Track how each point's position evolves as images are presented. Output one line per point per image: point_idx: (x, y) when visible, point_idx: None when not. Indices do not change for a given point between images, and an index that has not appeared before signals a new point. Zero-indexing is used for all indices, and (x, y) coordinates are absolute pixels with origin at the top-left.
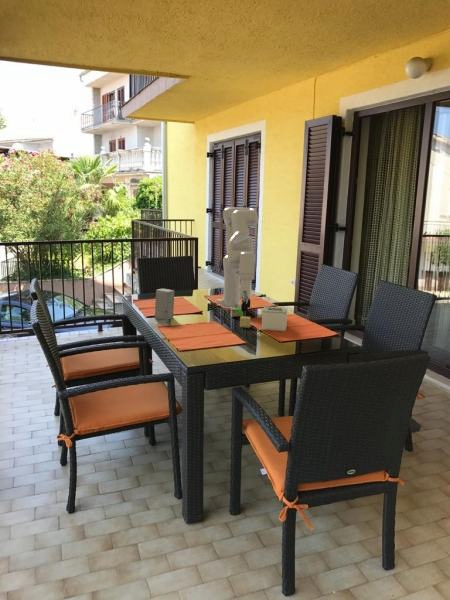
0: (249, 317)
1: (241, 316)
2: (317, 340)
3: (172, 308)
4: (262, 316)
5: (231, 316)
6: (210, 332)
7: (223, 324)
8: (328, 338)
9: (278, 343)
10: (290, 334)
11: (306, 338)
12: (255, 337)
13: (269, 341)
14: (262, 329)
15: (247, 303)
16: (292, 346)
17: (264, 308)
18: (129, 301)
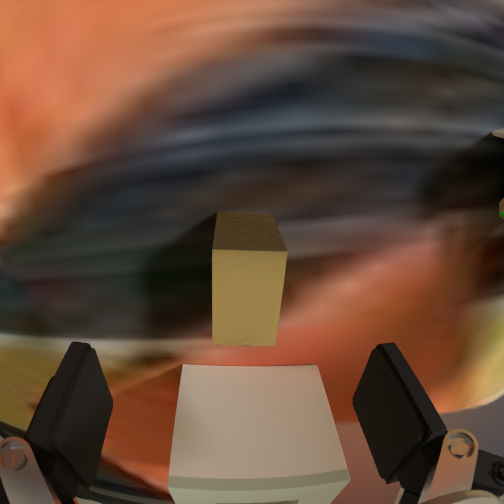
0: (253, 339)
1: (282, 258)
2: (127, 482)
3: None
4: (172, 446)
5: (498, 132)
6: (22, 22)
7: (281, 48)
8: (163, 498)
9: (20, 400)
10: (156, 450)
11: (131, 471)
12: (26, 330)
13: (18, 378)
14: (182, 370)
15: (379, 424)
16: (25, 426)
17: (261, 493)
18: None
